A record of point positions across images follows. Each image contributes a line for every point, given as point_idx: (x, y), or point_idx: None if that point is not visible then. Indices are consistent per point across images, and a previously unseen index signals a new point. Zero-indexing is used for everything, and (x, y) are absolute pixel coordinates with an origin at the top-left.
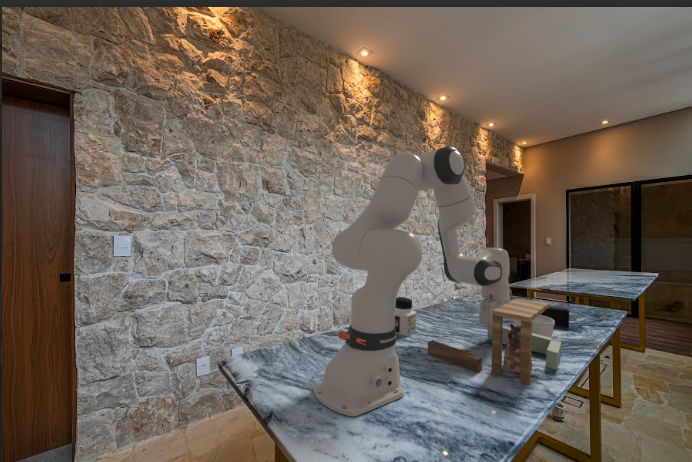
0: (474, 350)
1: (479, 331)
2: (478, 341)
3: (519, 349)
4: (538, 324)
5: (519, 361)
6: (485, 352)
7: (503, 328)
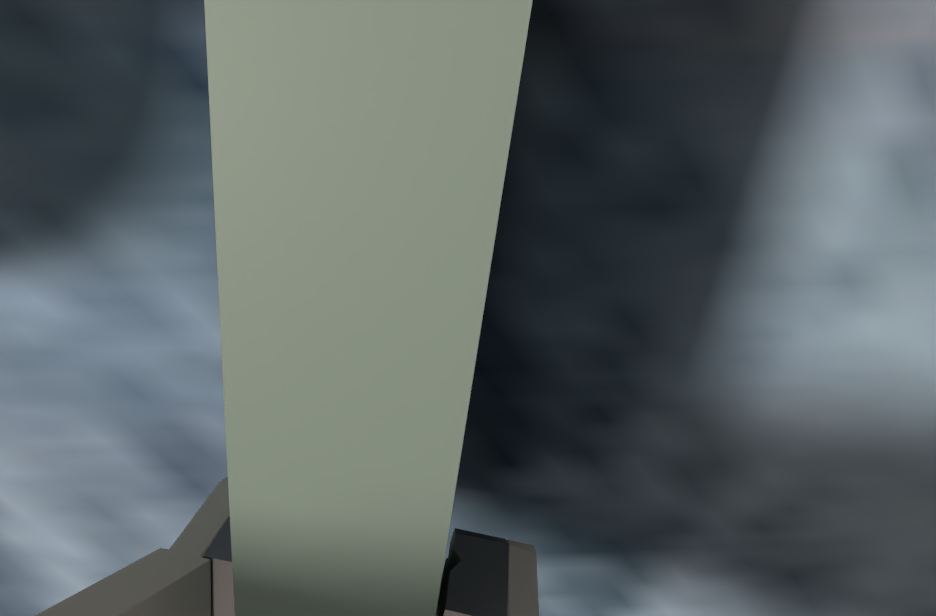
0: (881, 579)
1: None
2: None
3: None
4: None
5: None
6: (911, 484)
7: (451, 514)
